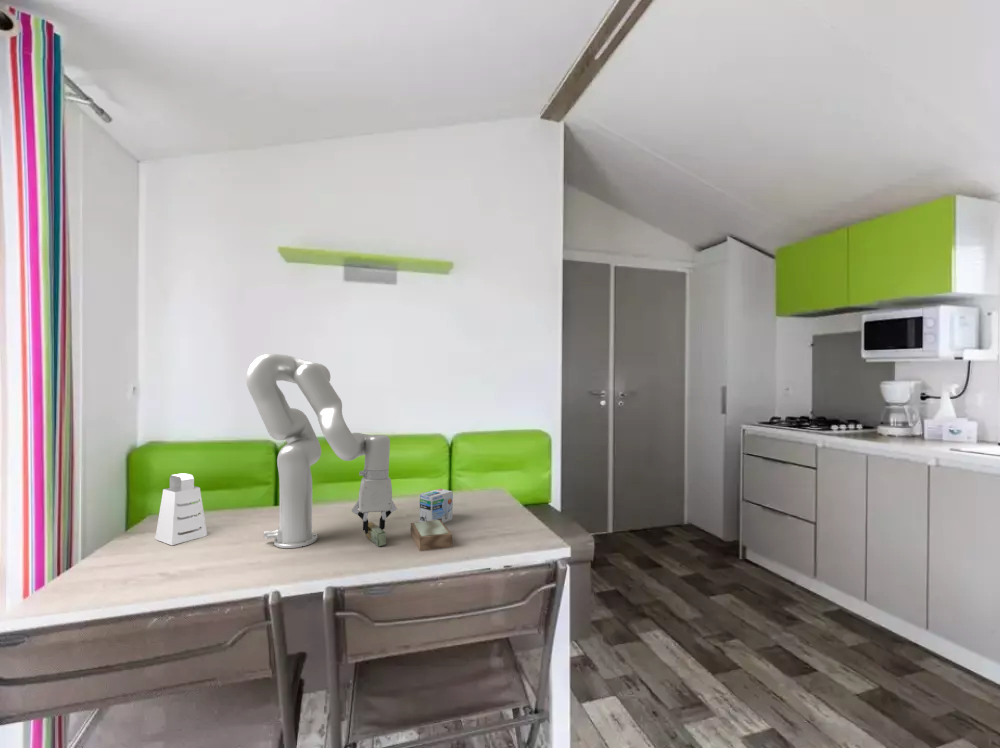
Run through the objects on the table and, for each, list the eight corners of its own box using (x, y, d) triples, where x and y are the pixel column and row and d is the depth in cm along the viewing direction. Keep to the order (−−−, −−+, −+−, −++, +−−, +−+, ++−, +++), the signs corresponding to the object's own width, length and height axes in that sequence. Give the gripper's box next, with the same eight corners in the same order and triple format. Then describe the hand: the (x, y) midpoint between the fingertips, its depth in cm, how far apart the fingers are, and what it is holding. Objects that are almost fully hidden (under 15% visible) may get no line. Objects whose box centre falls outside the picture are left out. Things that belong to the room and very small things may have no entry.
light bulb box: (432, 528, 165) (432, 496, 165) (418, 524, 169) (418, 493, 169) (453, 520, 173) (453, 490, 173) (439, 517, 177) (440, 488, 177)
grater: (190, 529, 161) (190, 470, 161) (207, 535, 156) (207, 474, 156) (155, 539, 152) (155, 476, 152) (171, 545, 147) (172, 480, 147)
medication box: (387, 544, 148) (386, 531, 147) (378, 547, 146) (377, 534, 146) (372, 532, 157) (371, 521, 157) (364, 535, 156) (363, 523, 155)
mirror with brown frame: (419, 551, 143) (419, 537, 143) (410, 535, 157) (410, 522, 157) (452, 547, 147) (452, 533, 147) (440, 531, 161) (440, 519, 161)
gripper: (349, 477, 146) (346, 538, 146) (404, 476, 151) (401, 534, 152) (348, 472, 153) (345, 530, 153) (400, 471, 159) (398, 526, 159)
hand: (373, 531), depth 152 cm, fingers open, 3 cm apart
